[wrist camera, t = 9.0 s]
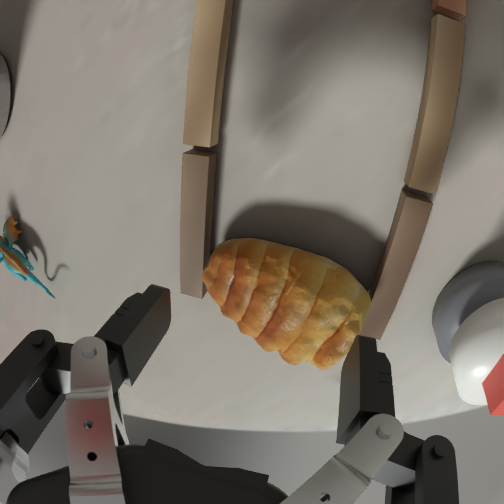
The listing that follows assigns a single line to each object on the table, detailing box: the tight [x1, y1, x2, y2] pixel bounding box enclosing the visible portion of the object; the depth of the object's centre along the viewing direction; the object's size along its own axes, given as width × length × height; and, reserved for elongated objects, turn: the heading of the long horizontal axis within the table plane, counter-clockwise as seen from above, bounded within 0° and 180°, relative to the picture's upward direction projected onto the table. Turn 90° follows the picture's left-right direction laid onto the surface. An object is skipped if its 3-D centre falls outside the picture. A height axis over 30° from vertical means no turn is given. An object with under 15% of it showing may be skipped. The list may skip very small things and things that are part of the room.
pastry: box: [202, 238, 371, 370], centre depth 18 cm, size 9×7×4 cm
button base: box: [432, 261, 504, 363], centre depth 16 cm, size 7×7×2 cm
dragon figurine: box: [0, 214, 56, 299], centre depth 24 cm, size 6×7×8 cm
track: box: [180, 0, 467, 340], centre depth 13 cm, size 13×28×1 cm, turn 174°
